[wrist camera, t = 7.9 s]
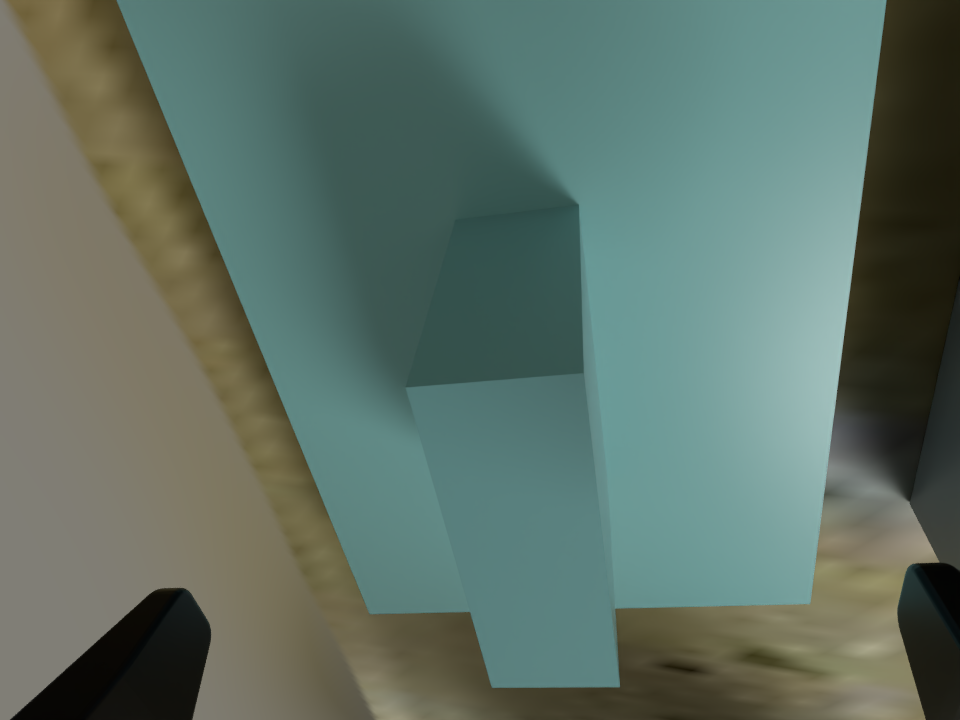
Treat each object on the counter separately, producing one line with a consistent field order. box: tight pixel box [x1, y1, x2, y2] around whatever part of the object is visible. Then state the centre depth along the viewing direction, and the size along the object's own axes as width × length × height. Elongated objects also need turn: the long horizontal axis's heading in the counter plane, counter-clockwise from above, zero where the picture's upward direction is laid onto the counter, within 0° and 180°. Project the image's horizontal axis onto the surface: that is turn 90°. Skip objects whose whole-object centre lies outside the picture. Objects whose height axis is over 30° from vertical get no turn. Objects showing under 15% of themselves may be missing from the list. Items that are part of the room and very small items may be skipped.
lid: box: [117, 0, 887, 688], centre depth 12 cm, size 14×10×7 cm
